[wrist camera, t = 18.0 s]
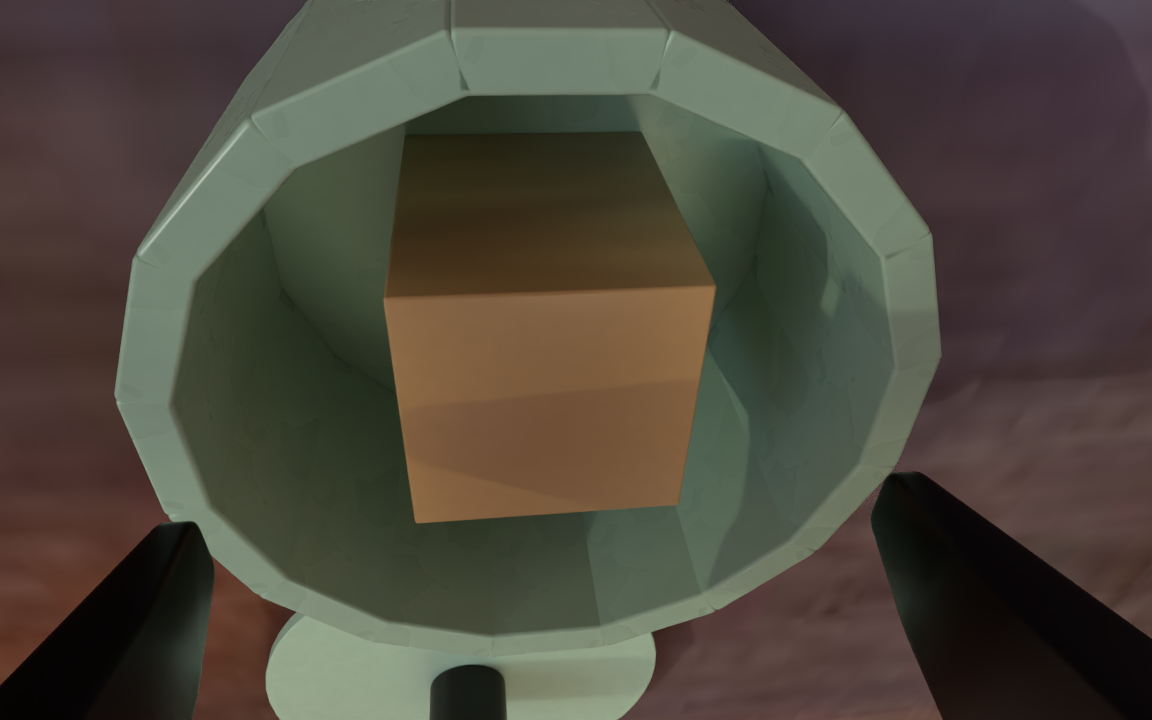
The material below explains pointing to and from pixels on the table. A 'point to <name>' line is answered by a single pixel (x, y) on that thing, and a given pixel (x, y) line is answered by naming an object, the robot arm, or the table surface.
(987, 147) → the table surface
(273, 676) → the lid
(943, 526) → the robot arm
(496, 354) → the block
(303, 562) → the tin
